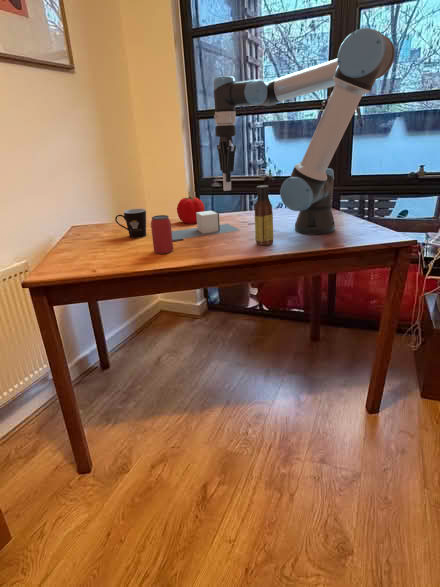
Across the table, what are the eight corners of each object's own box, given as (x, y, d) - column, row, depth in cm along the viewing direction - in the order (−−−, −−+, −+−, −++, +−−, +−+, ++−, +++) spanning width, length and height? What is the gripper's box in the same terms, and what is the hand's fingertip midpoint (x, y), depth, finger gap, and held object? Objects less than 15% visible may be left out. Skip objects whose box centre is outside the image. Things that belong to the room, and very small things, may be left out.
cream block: (219, 213, 148) (202, 215, 146) (219, 231, 151) (203, 233, 149) (212, 210, 154) (196, 212, 152) (213, 227, 157) (197, 229, 155)
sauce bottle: (273, 241, 136) (274, 184, 129) (272, 246, 131) (273, 187, 123) (255, 241, 138) (255, 184, 130) (253, 246, 132) (253, 187, 124)
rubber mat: (240, 231, 151) (240, 230, 151) (172, 241, 142) (172, 240, 142) (227, 225, 162) (227, 223, 162) (163, 233, 153) (163, 232, 153)
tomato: (173, 226, 164) (171, 199, 160) (183, 219, 176) (181, 193, 172) (201, 226, 162) (199, 199, 157) (209, 219, 173) (207, 193, 169)
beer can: (157, 255, 127) (153, 220, 122) (151, 250, 132) (147, 216, 128) (176, 252, 130) (173, 217, 125) (169, 247, 135) (166, 213, 130)
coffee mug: (153, 234, 154) (150, 209, 150) (140, 239, 147) (137, 213, 143) (129, 232, 158) (126, 207, 154) (116, 237, 151) (112, 212, 147)
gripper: (209, 125, 145) (212, 189, 154) (222, 124, 133) (225, 193, 143) (227, 124, 147) (229, 187, 157) (242, 124, 136) (243, 191, 145)
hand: (227, 190), depth 150 cm, fingers closed
